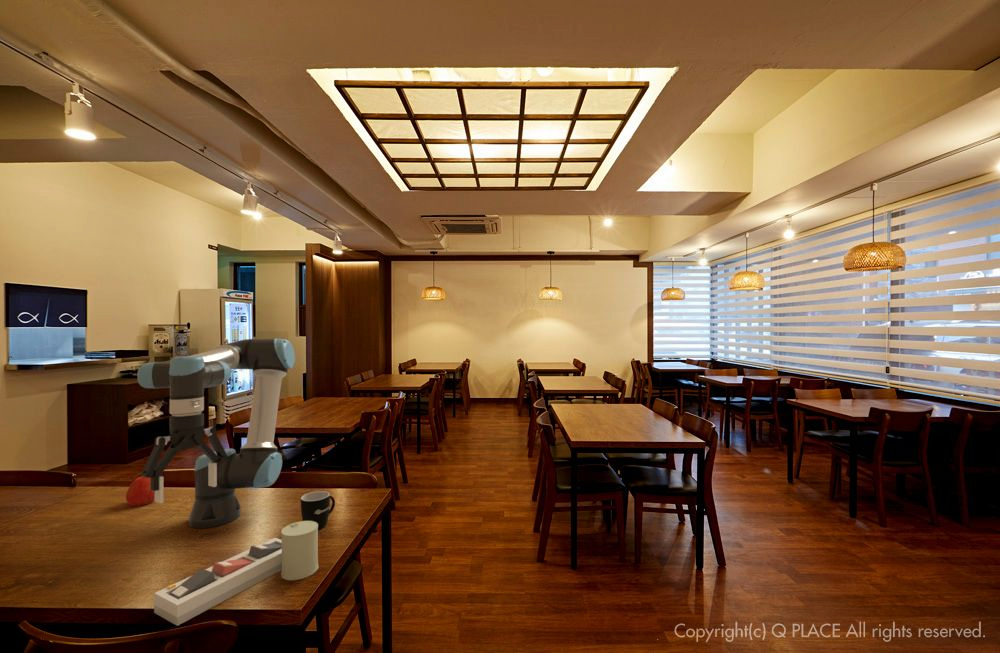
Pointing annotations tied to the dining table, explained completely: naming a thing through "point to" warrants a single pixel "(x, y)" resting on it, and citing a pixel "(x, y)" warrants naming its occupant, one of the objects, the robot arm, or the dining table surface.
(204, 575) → the rocker
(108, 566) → the dining table surface
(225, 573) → the rocker mid
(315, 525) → the can
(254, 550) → the rocker
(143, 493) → the apple
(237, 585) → the strip
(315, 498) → the mug
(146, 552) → the dining table surface
